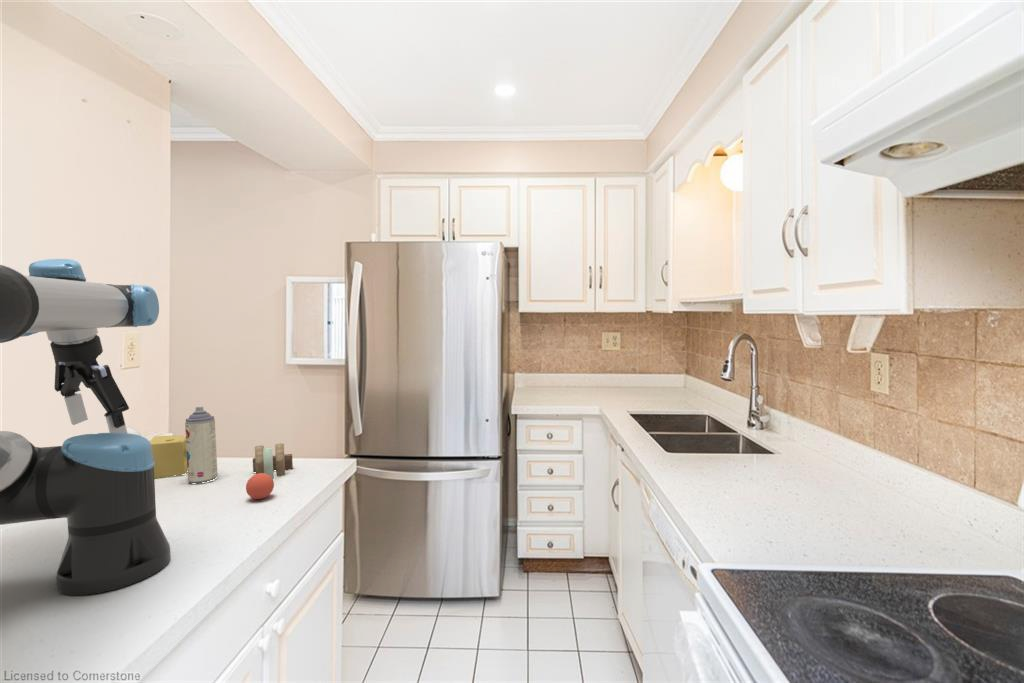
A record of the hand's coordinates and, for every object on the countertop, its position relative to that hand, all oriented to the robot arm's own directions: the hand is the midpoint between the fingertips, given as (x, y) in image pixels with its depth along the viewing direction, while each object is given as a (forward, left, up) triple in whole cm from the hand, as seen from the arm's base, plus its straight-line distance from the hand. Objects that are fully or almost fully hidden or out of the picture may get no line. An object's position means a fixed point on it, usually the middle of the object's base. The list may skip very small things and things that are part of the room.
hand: (99, 430), depth 106 cm
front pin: (+17, -30, -20) cm, 40 cm away
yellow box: (+36, -2, -20) cm, 41 cm away
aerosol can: (+24, -13, -20) cm, 34 cm away
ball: (+2, -30, -17) cm, 34 cm away
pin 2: (+21, -32, -20) cm, 43 cm away
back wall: (+26, -30, -20) cm, 44 cm away
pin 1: (+21, -27, -20) cm, 40 cm away
